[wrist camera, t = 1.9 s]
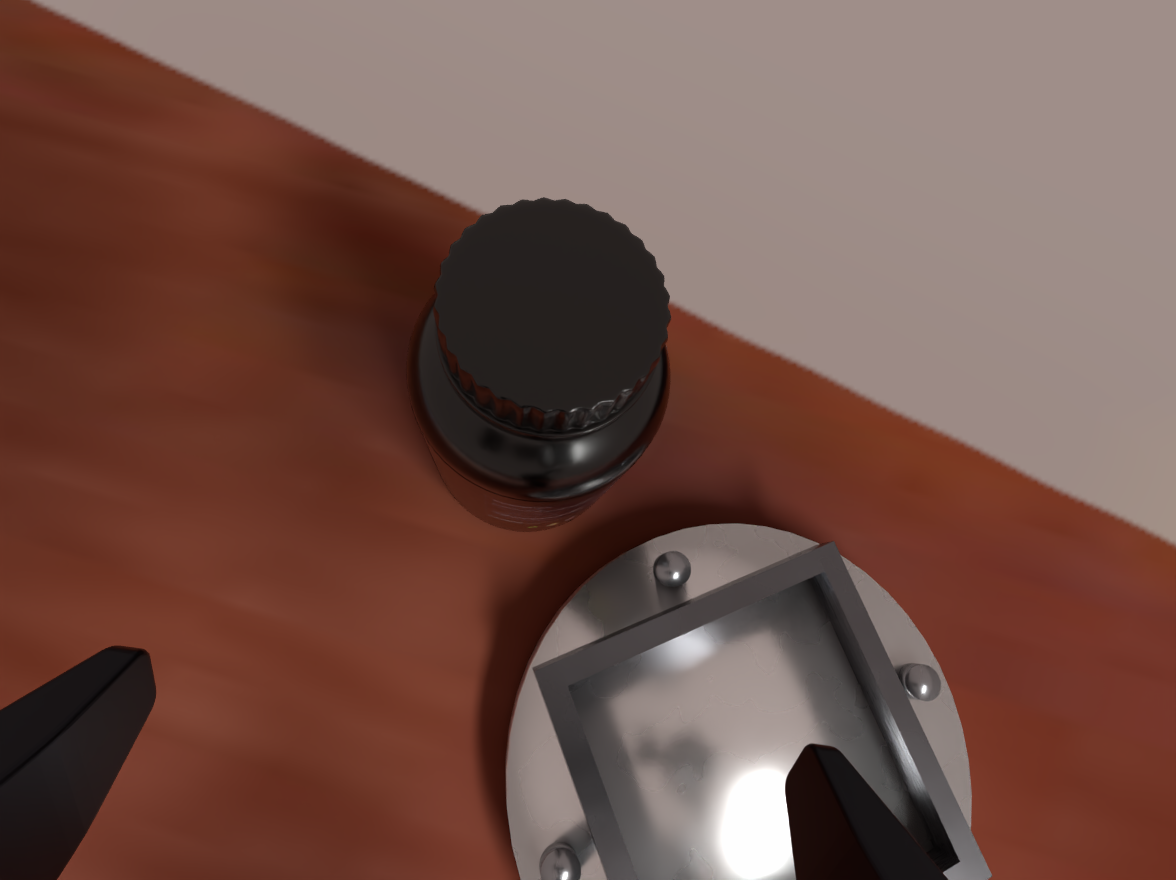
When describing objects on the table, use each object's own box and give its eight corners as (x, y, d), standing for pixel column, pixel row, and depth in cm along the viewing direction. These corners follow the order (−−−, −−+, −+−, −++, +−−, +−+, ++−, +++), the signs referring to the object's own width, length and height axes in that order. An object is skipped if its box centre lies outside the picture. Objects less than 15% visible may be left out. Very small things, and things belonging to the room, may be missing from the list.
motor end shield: (612, 1145, 18) (631, 1233, 16) (440, 624, 21) (433, 625, 19) (1017, 882, 22) (1088, 918, 19) (821, 472, 25) (858, 456, 22)
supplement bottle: (418, 383, 24) (348, 168, 12) (587, 350, 25) (666, 130, 14) (456, 558, 22) (418, 501, 11) (634, 512, 23) (769, 418, 12)
